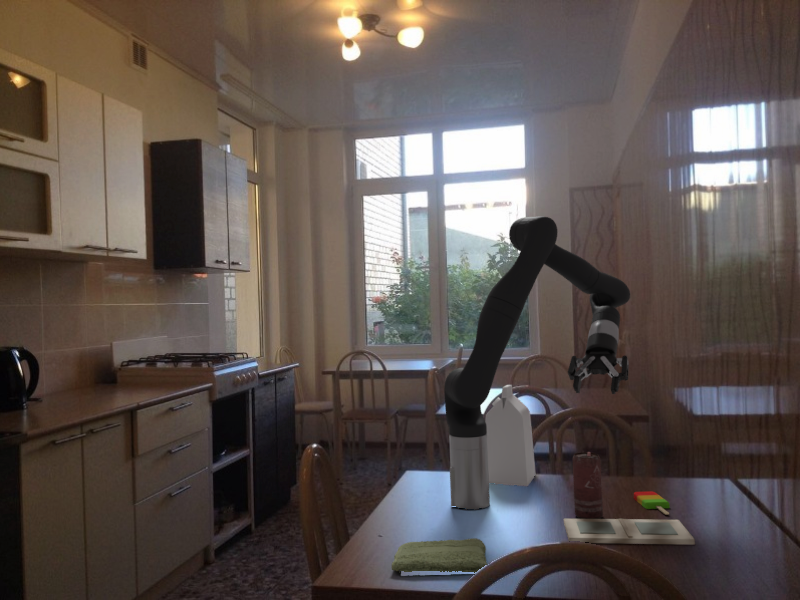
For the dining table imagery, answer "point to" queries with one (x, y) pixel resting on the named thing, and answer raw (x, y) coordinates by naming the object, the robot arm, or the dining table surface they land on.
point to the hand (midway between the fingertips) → (594, 391)
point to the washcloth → (441, 556)
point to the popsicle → (652, 501)
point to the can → (587, 485)
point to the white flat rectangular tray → (628, 531)
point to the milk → (509, 441)
